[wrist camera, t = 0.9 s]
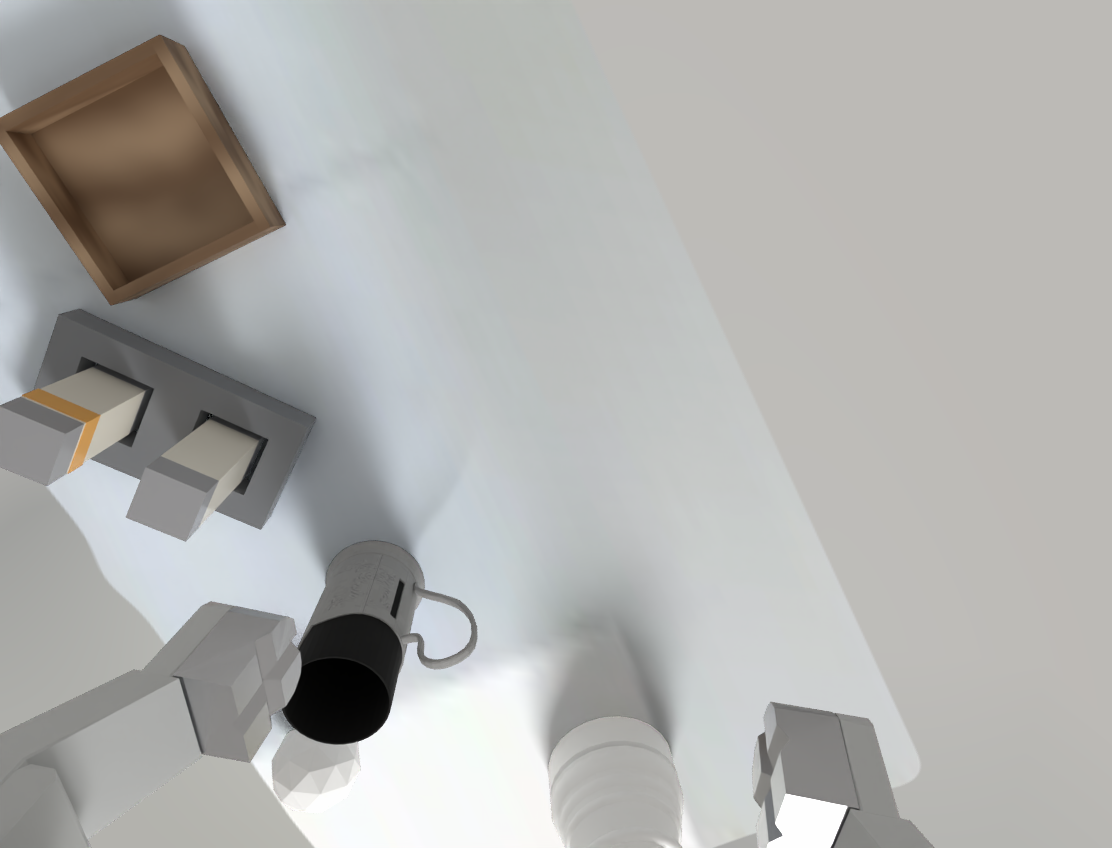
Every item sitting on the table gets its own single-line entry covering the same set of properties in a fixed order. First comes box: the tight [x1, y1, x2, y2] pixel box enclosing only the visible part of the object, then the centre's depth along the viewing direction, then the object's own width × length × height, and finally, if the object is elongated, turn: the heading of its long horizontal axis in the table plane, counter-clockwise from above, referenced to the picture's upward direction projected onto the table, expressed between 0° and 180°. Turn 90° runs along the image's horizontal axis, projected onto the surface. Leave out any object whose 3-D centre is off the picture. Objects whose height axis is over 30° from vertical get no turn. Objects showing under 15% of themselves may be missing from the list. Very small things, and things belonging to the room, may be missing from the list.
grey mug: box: [282, 541, 477, 745], centre depth 54 cm, size 9×14×15 cm, turn 103°
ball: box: [272, 729, 361, 813], centre depth 62 cm, size 8×8×8 cm
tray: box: [0, 35, 286, 305], centre depth 47 cm, size 13×13×4 cm
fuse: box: [126, 415, 265, 541], centre depth 50 cm, size 4×4×12 cm
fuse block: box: [34, 309, 316, 530], centre depth 54 cm, size 19×10×2 cm, turn 61°
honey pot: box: [548, 716, 684, 848], centre depth 61 cm, size 13×13×18 cm
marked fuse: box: [0, 364, 154, 486], centre depth 48 cm, size 4×4×12 cm
